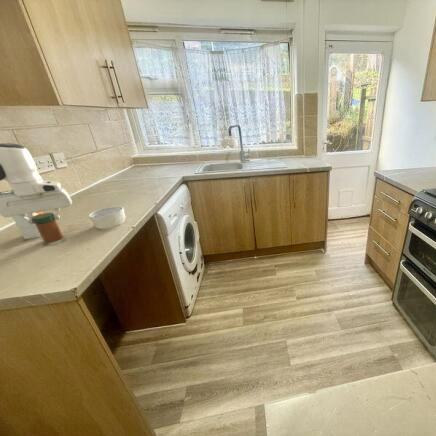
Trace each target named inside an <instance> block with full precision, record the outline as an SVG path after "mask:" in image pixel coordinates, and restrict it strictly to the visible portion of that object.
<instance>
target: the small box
mask: <svg viewBox="0 0 436 436" xmlns="http://www.w3.org/2000/svg"><path fill="white" fill-rule="evenodd" d="M44 213H45V212H44V211H40V212H34V213H29V214H27V215H26V217H28V218H29V219H31V218H32V217H33V216H36V215H39V214H44ZM11 218H12V220H13V221H14V223H15V225H16V227H17V228H18V229H19V231H20V233H21V235H22V237H23V238H24V240H28V239H33V238H40V237H41V235H40V233H39V231H38V229H37V227H36V225H35V223H34V224H31V225H29V224H28V222H27V221H25V220H24V219H22V218H21V217H20V216H19V215H17V216H11ZM41 238H42V237H41Z"/></svg>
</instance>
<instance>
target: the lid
mask: <svg viewBox="0 0 436 436" xmlns="http://www.w3.org/2000/svg"><path fill="white" fill-rule="evenodd" d="M43 213H44V214H39V215H36V216H33V217H32V218H31V219H32V221H33V223H44V222H48V221H51V220H53V219H54V217H53V216H54V215H55V214H54V213H53V212H43Z"/></svg>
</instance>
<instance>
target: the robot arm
mask: <svg viewBox="0 0 436 436" xmlns="http://www.w3.org/2000/svg"><path fill="white" fill-rule="evenodd" d="M2 181H7V183H8V184H9V186H10V189H11V190H5V191H0V216H1V217H3V218H10V217H11V218H12V216H17V215H19V216H20V217H21V218H22V219H24V220H25V221H27V222H28V224H29V225H31V224H34V223H33V221H32V219H29V218H28V217H26V215H27V214H29V213H34V212H40V211H43V212H47V211H51V210H54V212H55V213H56V214H54V216H53V217H54V219H55V220H56V221H57V220H60V219H61V216H60V211H61V209H63V208H69V207H71V206H72V204H73V200H72V198H71V196H70V194H69V193H68V191H67V190H66V189H65V188H63V187H62V184H61V182H59V181H52V180H43V177H42V176H41V175H40V174H39V171H38V166H37V164H36V162H35V160H34V158H33V156H32V155H31V153H30V151H29V150H28V149H27V148H26V147H25V146H24V145H22V144H18V143H0V182H2Z"/></svg>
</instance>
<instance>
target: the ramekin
mask: <svg viewBox="0 0 436 436" xmlns="http://www.w3.org/2000/svg"><path fill="white" fill-rule="evenodd" d="M88 217H89V219H90V221H91V222H92V223H93V225H94V226H95V228H96V229H99V230H100V229H101V230H102V229H103V230H104V229H111V228H114V227H117V226H120V225H122V224H123V223H125V222H126V221H127V220H126V214H125V208H124V207H123V206H119V205H117V206H108V207H104V208H99V209H97V210H94V211H92V212H91V213H89V214H88Z"/></svg>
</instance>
